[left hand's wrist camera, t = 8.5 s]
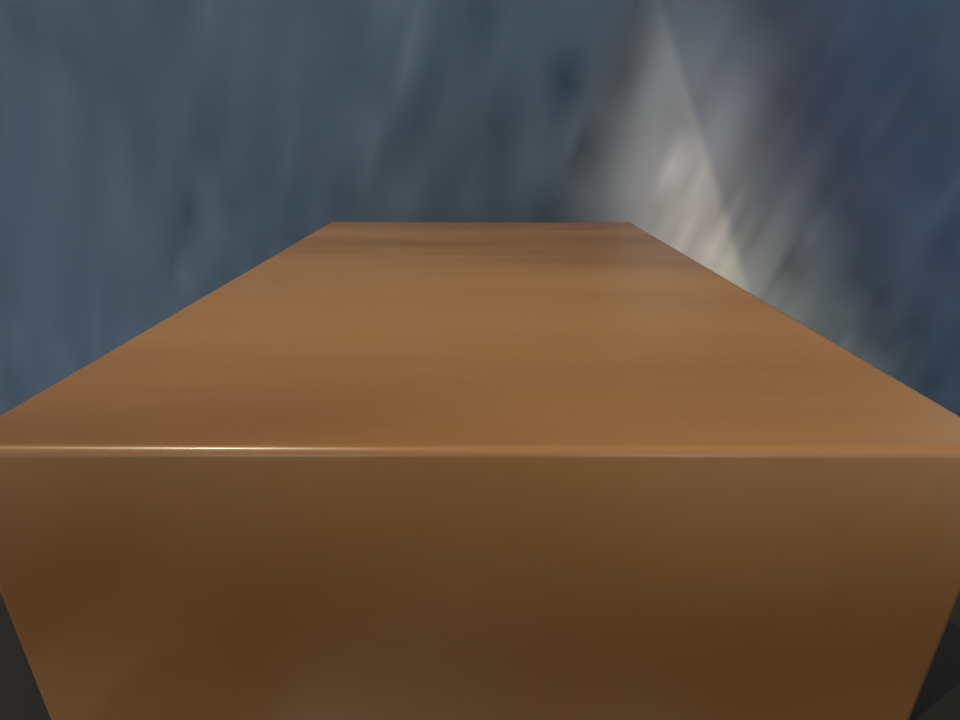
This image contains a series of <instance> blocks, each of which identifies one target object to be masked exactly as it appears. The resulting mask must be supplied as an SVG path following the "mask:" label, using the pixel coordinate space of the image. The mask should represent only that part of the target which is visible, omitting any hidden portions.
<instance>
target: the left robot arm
mask: <svg viewBox="0 0 960 720" xmlns="http://www.w3.org/2000/svg"><path fill="white" fill-rule="evenodd" d="M0 720H51V718H50V716H49V713H48V711H47V708H46V706H45V703H44V701H43V698H42V696H41V693H40V690H39V688H38V685H37V683H36V680H35V678H34V675H33V673H32V670H31V668H30V665H29V663H28V660H27V658H26V655H25V653H24V650H23V648H22V645H21V643H20V640H19V638H18V635H17V633H16V630H15V628H14V625H13V623H12V620H11V618H10V615H9V613H8V610H7V608H6V605H5V603H4V600H3V598H2V595H1V593H0ZM909 720H960V594H959V597H958V599H957V602H956V604H955V607H954V609H953V612H952V614H951V617H950V619H949V622H948V624H947V627H946V629H945V632H944V634H943V637H942V639H941V642H940V644H939V647H938V649H937V652H936V654H935V657H934V659H933V662H932V664H931V667H930V669H929V672H928V674H927V677H926V679H925V682H924V684H923V687H922V689H921V692H920V694H919V697H918V699H917V702H916V704H915V707H914V709H913V712H912V714H911V717H910V719H909Z"/></svg>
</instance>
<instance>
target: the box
mask: <svg viewBox="0 0 960 720" xmlns="http://www.w3.org/2000/svg"><path fill="white" fill-rule="evenodd" d="M0 593H1V595H2V598H3V600H4V603H5V605H6V608H7V610H8V613H9V615H10V618H11V620H12V623H13V625H14V628H15V630H16V633H17V635H18V638H19V640H20V643H21V645H22V648H23V650H24V653H25V655H26V658H27V660H28V663H29V665H30V668H31V670H32V673H33V675H34V678H35V680H36V683H37V685H38V688H39V690H40V693H41V696H42V698H43V701H44V703H45V706H46V708H47V711H48V713H49V716H50V718H51V720H909V719H910V717H911V714H912V712H913V709H914V707H915V704H916V702H917V699H918V697H919V694H920V692H921V689H922V687H923V684H924V682H925V679H926V677H927V674H928V672H929V669H930V667H931V664H932V662H933V659H934V657H935V654H936V652H937V649H938V647H939V644H940V642H941V639H942V637H943V634H944V632H945V629H946V627H947V624H948V622H949V619H950V617H951V614H952V612H953V609H954V607H955V604H956V602H957V599H958V597H959V594H960V417H959V416H957V415H956V414H954V413H952V412H951V411H949V410H947V409H946V408H944V407H942V406H940V405H939V404H937V403H935V402H934V401H932V400H930V399H929V398H927V397H925V396H923V395H922V394H920V393H918V392H917V391H915V390H913V389H912V388H910V387H908V386H906V385H905V384H903V383H901V382H900V381H898V380H896V379H895V378H893V377H891V376H889V375H888V374H886V373H884V372H883V371H881V370H879V369H878V368H876V367H874V366H872V365H871V364H869V363H867V362H866V361H864V360H862V359H861V358H859V357H857V356H855V355H854V354H852V353H850V352H849V351H847V350H845V349H844V348H842V347H840V346H839V345H837V344H835V343H833V342H832V341H830V340H828V339H827V338H825V337H823V336H822V335H820V334H818V333H816V332H815V331H813V330H811V329H810V328H808V327H806V326H805V325H803V324H801V323H799V322H798V321H796V320H794V319H793V318H791V317H789V316H788V315H786V314H784V313H782V312H781V311H779V310H777V309H776V308H774V307H772V306H771V305H769V304H767V303H765V302H764V301H762V300H760V299H759V298H757V297H755V296H754V295H752V294H750V293H748V292H747V291H745V290H743V289H742V288H740V287H738V286H737V285H735V284H733V283H731V282H730V281H728V280H726V279H725V278H723V277H721V276H720V275H718V274H716V273H714V272H713V271H711V270H709V269H708V268H706V267H704V266H703V265H701V264H699V263H697V262H696V261H694V260H692V259H691V258H689V257H687V256H686V255H684V254H682V253H680V252H679V251H677V250H675V249H674V248H672V247H670V246H669V245H667V244H665V243H663V242H662V241H660V240H658V239H657V238H655V237H653V236H652V235H650V234H648V233H647V232H645V231H643V230H641V229H640V228H638V227H636V226H635V225H633V224H631V223H629V222H332V223H330V224H328V225H326V226H324V227H323V228H321V229H319V230H318V231H316V232H314V233H312V234H311V235H309V236H307V237H306V238H304V239H302V240H300V241H299V242H297V243H295V244H294V245H292V246H290V247H288V248H287V249H285V250H283V251H282V252H280V253H278V254H276V255H275V256H273V257H271V258H270V259H268V260H266V261H265V262H263V263H261V264H259V265H258V266H256V267H254V268H253V269H251V270H249V271H247V272H246V273H244V274H242V275H241V276H239V277H237V278H235V279H234V280H232V281H230V282H229V283H227V284H225V285H223V286H222V287H220V288H218V289H217V290H215V291H213V292H211V293H210V294H208V295H206V296H205V297H203V298H201V299H199V300H198V301H196V302H194V303H193V304H191V305H189V306H188V307H186V308H184V309H182V310H181V311H179V312H177V313H176V314H174V315H172V316H170V317H169V318H167V319H165V320H164V321H162V322H160V323H158V324H157V325H155V326H153V327H152V328H150V329H148V330H146V331H145V332H143V333H141V334H140V335H138V336H136V337H134V338H133V339H131V340H129V341H128V342H126V343H124V344H122V345H121V346H119V347H117V348H116V349H114V350H112V351H111V352H109V353H107V354H105V355H104V356H102V357H100V358H99V359H97V360H95V361H93V362H92V363H90V364H88V365H87V366H85V367H83V368H81V369H80V370H78V371H76V372H75V373H73V374H71V375H69V376H68V377H66V378H64V379H63V380H61V381H59V382H57V383H56V384H54V385H52V386H51V387H49V388H47V389H45V390H44V391H42V392H40V393H39V394H37V395H35V396H34V397H32V398H30V399H28V400H27V401H25V402H23V403H22V404H20V405H18V406H16V407H15V408H13V409H11V410H10V411H8V412H6V413H4V414H3V415H1V416H0Z"/></svg>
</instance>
